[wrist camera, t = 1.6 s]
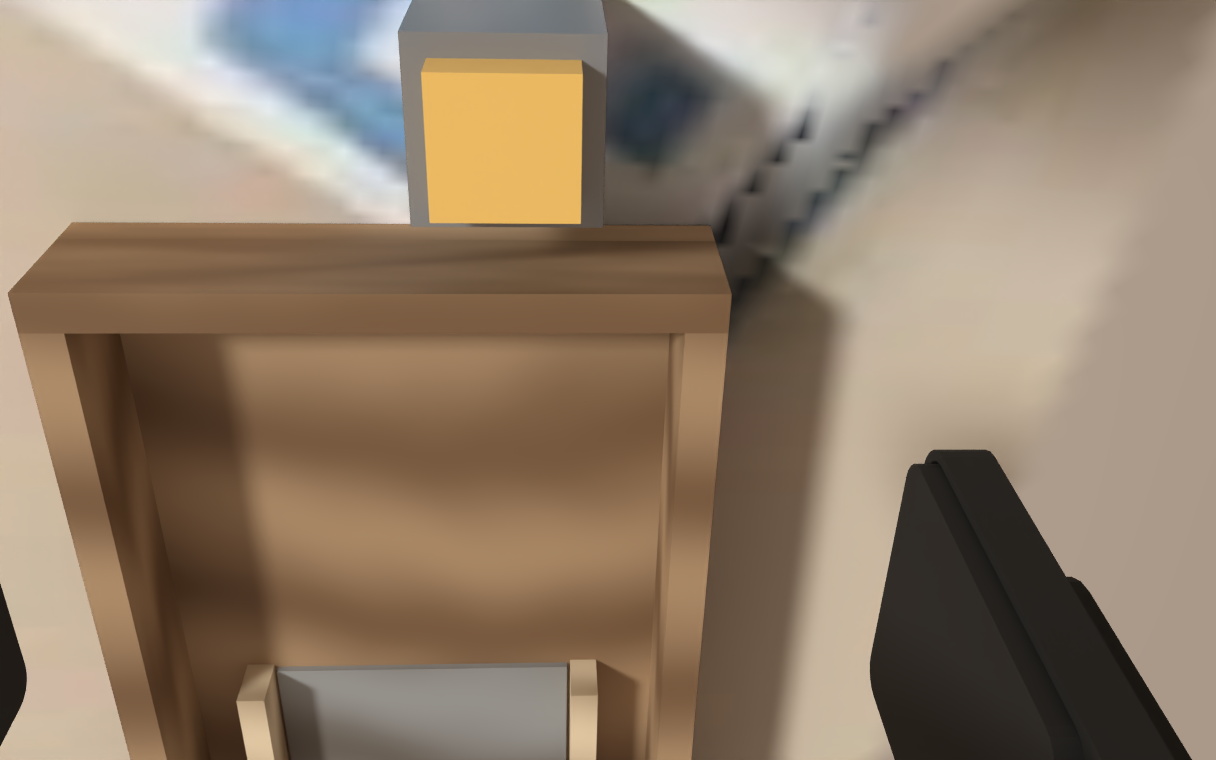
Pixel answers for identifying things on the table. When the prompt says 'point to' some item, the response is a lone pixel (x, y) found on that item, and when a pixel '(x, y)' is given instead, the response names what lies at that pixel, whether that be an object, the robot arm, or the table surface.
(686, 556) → the crate
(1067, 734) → the robot arm
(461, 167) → the block
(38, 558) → the table surface
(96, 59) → the table surface
